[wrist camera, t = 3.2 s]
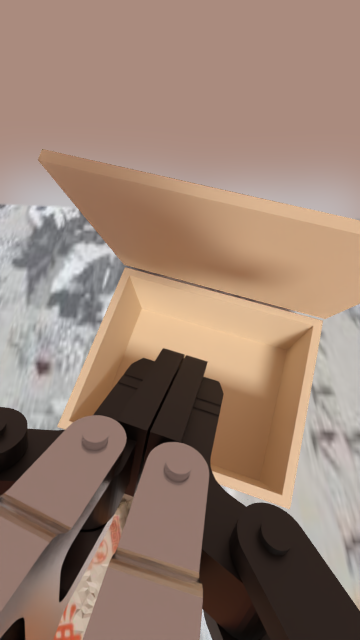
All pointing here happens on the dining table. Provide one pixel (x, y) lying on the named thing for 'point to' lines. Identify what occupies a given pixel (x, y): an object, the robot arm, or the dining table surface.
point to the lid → (217, 236)
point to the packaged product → (92, 579)
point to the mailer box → (215, 372)
